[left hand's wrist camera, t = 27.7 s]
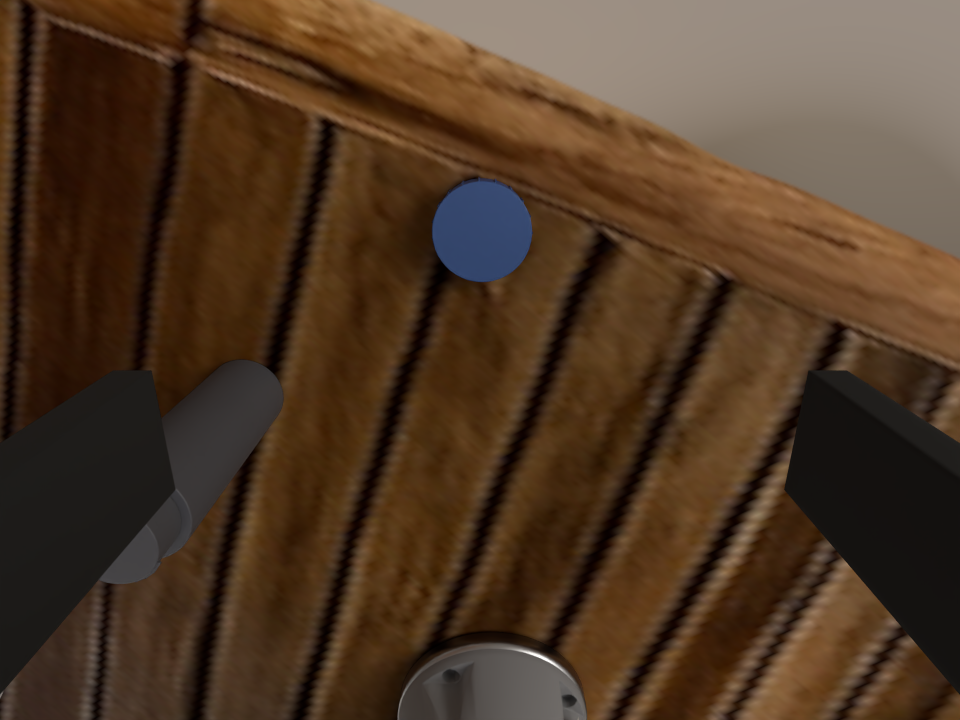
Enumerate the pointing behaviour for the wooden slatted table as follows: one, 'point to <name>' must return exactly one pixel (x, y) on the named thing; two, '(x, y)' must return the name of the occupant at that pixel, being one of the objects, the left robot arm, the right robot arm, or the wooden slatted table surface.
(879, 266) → the wooden slatted table surface
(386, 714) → the wooden slatted table surface
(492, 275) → the lid
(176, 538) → the grey bottle
